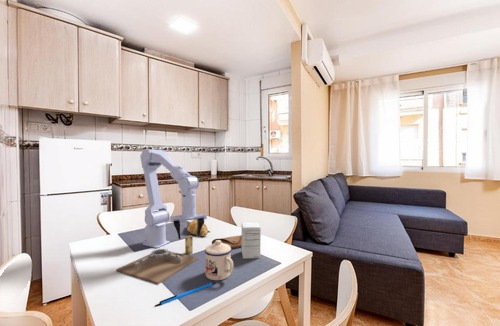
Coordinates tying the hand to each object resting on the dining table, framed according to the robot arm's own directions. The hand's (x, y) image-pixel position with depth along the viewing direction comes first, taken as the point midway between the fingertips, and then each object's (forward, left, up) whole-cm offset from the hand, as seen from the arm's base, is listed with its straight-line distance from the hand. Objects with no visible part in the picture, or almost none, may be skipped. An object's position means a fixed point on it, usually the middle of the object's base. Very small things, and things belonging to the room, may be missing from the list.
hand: (188, 237), depth 96 cm
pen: (+19, -23, -7) cm, 31 cm away
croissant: (-15, +24, -7) cm, 29 cm away
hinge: (-3, -13, -6) cm, 15 cm away
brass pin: (0, 0, -7) cm, 7 cm away
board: (-3, -13, -7) cm, 15 cm away
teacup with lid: (+22, -10, -7) cm, 25 cm away
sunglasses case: (+13, +15, -8) cm, 21 cm away
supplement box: (+24, +10, -7) cm, 27 cm away
